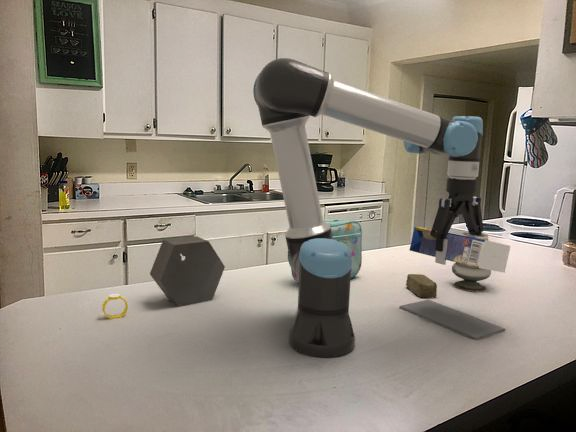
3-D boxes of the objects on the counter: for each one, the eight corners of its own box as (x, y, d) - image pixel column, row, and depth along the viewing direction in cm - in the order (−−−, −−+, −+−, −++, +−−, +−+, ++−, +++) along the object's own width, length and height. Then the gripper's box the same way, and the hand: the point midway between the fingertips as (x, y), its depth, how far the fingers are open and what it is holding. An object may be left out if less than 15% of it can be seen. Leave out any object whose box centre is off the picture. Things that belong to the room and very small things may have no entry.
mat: (475, 340, 116) (475, 337, 116) (399, 307, 137) (399, 305, 137) (505, 330, 123) (505, 328, 122) (428, 301, 143) (428, 299, 143)
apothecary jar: (444, 286, 159) (448, 232, 156) (459, 279, 167) (464, 228, 165) (480, 295, 151) (486, 239, 148) (494, 287, 159) (500, 234, 157)
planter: (220, 274, 147) (186, 221, 138) (233, 280, 141) (198, 225, 132) (177, 311, 140) (138, 259, 131) (189, 320, 134) (149, 265, 125)
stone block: (419, 299, 145) (420, 283, 145) (404, 287, 157) (405, 272, 156) (437, 298, 146) (438, 283, 146) (421, 287, 158) (422, 272, 157)
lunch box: (307, 292, 148) (310, 223, 144) (285, 284, 155) (287, 218, 152) (363, 278, 165) (367, 216, 162) (341, 271, 173) (344, 212, 169)
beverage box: (510, 245, 120) (440, 231, 138) (485, 239, 114) (414, 226, 132) (504, 272, 120) (434, 255, 138) (478, 268, 114) (409, 250, 132)
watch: (104, 322, 120) (102, 299, 119) (102, 318, 123) (100, 296, 121) (129, 316, 123) (127, 294, 122) (127, 313, 125) (125, 291, 124)
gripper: (444, 180, 114) (436, 269, 118) (503, 178, 127) (495, 259, 130) (419, 177, 120) (413, 262, 124) (478, 175, 133) (471, 253, 137)
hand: (455, 260), depth 127 cm, fingers closed on beverage box, 11 cm apart
